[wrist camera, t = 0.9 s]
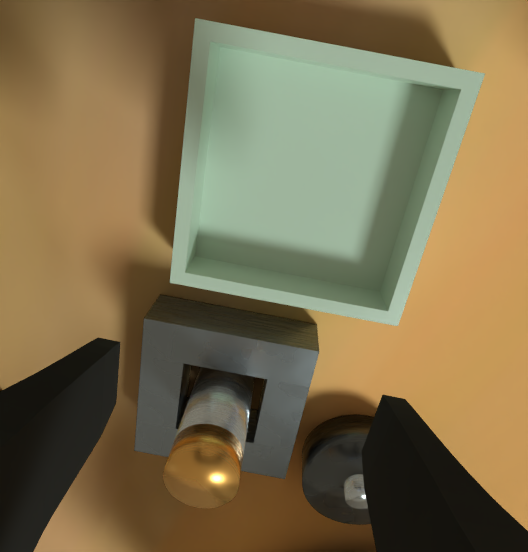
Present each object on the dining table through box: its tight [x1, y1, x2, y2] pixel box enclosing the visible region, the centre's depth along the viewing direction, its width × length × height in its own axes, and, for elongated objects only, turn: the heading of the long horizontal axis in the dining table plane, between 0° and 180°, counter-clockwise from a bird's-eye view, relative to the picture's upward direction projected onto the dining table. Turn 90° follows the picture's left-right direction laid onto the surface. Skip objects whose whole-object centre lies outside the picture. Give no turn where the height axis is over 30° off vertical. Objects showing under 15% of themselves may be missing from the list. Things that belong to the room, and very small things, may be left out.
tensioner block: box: [134, 295, 374, 525], centre depth 23 cm, size 15×11×3 cm
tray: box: [170, 18, 485, 326], centre depth 18 cm, size 10×10×2 cm
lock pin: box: [163, 367, 255, 508], centre depth 20 cm, size 3×3×7 cm
